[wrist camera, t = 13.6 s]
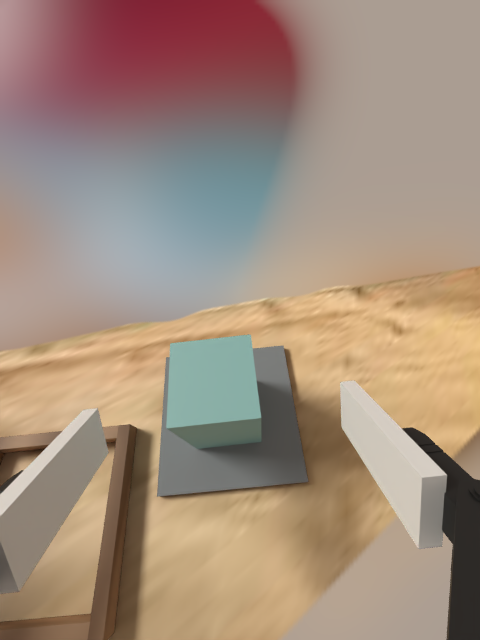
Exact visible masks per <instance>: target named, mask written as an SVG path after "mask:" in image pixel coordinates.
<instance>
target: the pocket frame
mask: <svg viewBox="0 0 480 640" xmlns="http://www.w3.org/2000/svg"><path fill="white" fill-rule="evenodd" d="M61 432H62V431H59V432H49V433H39V434H29V435H19V436H9V437H0V464H1V461H2V458H3V455H4V453H7V452H17V451H27V450H37V449H46V448H47V447H48V446H49V445H50V444H51V442H52V441H53V440H54V439H55V438H56V437H57V436H58V435H59V434H60V433H61ZM103 432H104V436H105V440H106V443H108V442H116V446H115V453H114V460H113V467H112V474H111V481H110V487H109V494H108V501H107V508H106V515H105V522H104V529H103V536H102V543H101V550H100V556H99V563H98V570H97V577H96V584H95V591H94V598H93V605H92V612H91V614H84V615H73V616H62V617H51V618H40V619H29V620H18V621H7V622H0V640H107V639H108V638H109V637H110V636H111V635H112V634H113V633H114V630H115V621H116V612H117V603H118V594H119V585H120V576H121V567H122V558H123V549H124V540H125V531H126V522H127V513H128V504H129V495H130V486H131V477H132V468H133V459H134V450H135V441H136V432H137V428H136V427H134V426H132V425H130V424H129V425H119V426H109V427H103Z"/></svg>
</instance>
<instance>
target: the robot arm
mask: <svg viewBox="0 0 480 640" xmlns="http://www.w3.org/2000/svg"><path fill="white" fill-rule="evenodd" d="M340 392H341V427H342V429H343V431H344V432H345V434H346V435H347V437H348V438H349V440H350V442H351V443H352V445H353V446H354V448H355V449H356V451H357V453H358V454H359V456H360V457H361V459H362V460H363V462H364V464H365V465H366V467H367V468H368V470H369V471H370V473H371V475H372V476H373V478H374V479H375V481H376V483H377V484H378V486H379V487H380V489H381V490H382V492H383V494H384V495H385V497H386V498H387V500H388V501H389V503H390V505H391V506H392V508H393V509H394V511H395V512H396V514H397V516H398V517H399V519H400V520H401V522H402V523H403V525H404V527H405V528H406V530H407V531H408V533H409V535H410V536H411V538H412V539H413V541H414V542H415V544H416V546H417V547H418V549H423V548H433V547H442V540H443V532H444V533H445V535H446V536H447V537H448V538H449V540H450V541H451V542H452V544H453V550H452V564H451V580H450V581H451V582H450V596H449V611H448V627H447V640H480V480H476V479H473V478H472V477H471V476H470V475H469V474H468V473H466V472H465V471H464V470H463V469H462V468H461V467H460V466H459V465H458V464H457V463H456V462H455V461H454V460H452V459H451V458H450V457H449V456H448V455H447V454H446V453H444V452H443V450H442V449H441V448H439V447H438V446H437V445H435V443H434V442H433V441H432V440H431V439H430V438H429V437H428V436H426V435H425V434H424V433H422V432H420V431H418V430H416V429H414V428H403V429H401V427H400V426H399V425H398V424H397V423H396V422H395V421H394V420H393V419H392V418H391V417H390V416H389V415H388V414H387V413H386V412H385V411H384V410H383V409H382V408H381V407H380V406H379V405H378V404H377V403H376V402H375V401H374V400H373V399H372V398H371V397H370V396H369V395H368V394H367V393H366V392H365V391H364V390H363V389H362V388H361V387H360V386H359V385H358V384H357V383H356V382H355V381H345V382H340ZM108 453H109V452H108V448H107V444H106V440H105V436H104V432H103V427H102V423H101V419H100V415H99V411H98V408H96V409H87V410H83V411H82V412H81V413H80V414H79V415H78V416H77V417H76V418H75V419H74V420H73V421H72V422H71V423H70V424H69V425H68V426H67V427H66V428H65V429H64V430H63V431H62V432H61V433H60V434H59V435H58V436H57V437H56V438H55V439H54V440H53V441H52V442H51V444H50V445H49V446H48V447H47V448H46V449H45V450H44V451H43V452H42V453H41V454H40V455H39V456H38V457H37V458H36V459H35V460H34V461H33V462H32V463H31V464H30V465H29V466H28V467H27V468H26V469H25V470H21V471H20V472H19V473H17V474H16V475H14V476H13V477H11V478H10V479H8V480H7V481H6V482H5V483H4V484H3V485H2V486H1V487H0V594H3V593H12V592H19V591H20V590H21V588H22V587H23V585H24V584H25V582H26V580H27V579H28V577H29V576H30V574H31V573H32V571H33V570H34V568H35V566H36V565H37V563H38V562H39V560H40V559H41V557H42V555H43V554H44V552H45V551H46V549H47V548H48V546H49V545H50V543H51V541H52V540H53V538H54V537H55V535H56V534H57V532H58V531H59V529H60V527H61V526H62V524H63V523H64V521H65V520H66V518H67V517H68V515H69V513H70V512H71V510H72V509H73V507H74V506H75V504H76V503H77V501H78V499H79V498H80V496H81V495H82V493H83V492H84V490H85V488H86V487H87V485H88V484H89V482H90V481H91V479H92V478H93V476H94V474H95V473H96V471H97V470H98V468H99V467H100V465H101V464H102V462H103V460H104V459H105V457H106V456H107V454H108Z"/></svg>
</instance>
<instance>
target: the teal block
mask: <svg viewBox="0 0 480 640" xmlns="http://www.w3.org/2000/svg"><path fill="white" fill-rule="evenodd" d="M166 429H168V430H169V431H171V432H172V433H174V434H175V435H177V436H178V437H180V438H181V439H183V440H184V441H186V442H187V443H189V444H190V445H192V446H193V447H195V448H196V449H201V448H210V447H220V446H229V445H238V444H247V443H256V442H261V412H260V404H259V396H258V388H257V380H256V372H255V365H254V357H253V349H252V341H251V335H242V336H233V337H224V338H215V339H206V340H197V341H188V342H180V343H171V344H170V362H169V382H168V403H167V424H166Z"/></svg>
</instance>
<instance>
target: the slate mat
mask: <svg viewBox="0 0 480 640" xmlns="http://www.w3.org/2000/svg"><path fill="white" fill-rule="evenodd" d="M253 357H254V365H255V372H256V380H257V388H258V396H259V404H260V412H261V442H256V443H247V444H238V445H229V446H220V447H210V448H201V449H196V448H195V447H193V446H192V445H190V444H189V443H187V442H186V441H184V440H183V439H181V438H180V437H178V436H177V435H175V434H174V433H172V432H171V431H169V430H168V429H166V424H167V403H168V382H169V362H170V357H167V358H166V369H165V384H164V400H163V415H162V430H161V445H160V461H159V476H158V491H157V496H168V495H179V494H189V493H199V492H210V491H220V490H230V489H241V488H251V487H262V486H272V485H282V484H293V483H303V482H308V477H307V472H306V466H305V461H304V456H303V450H302V445H301V439H300V434H299V428H298V423H297V417H296V412H295V406H294V401H293V396H292V390H291V385H290V379H289V374H288V368H287V363H286V357H285V352H284V347H283V346H274V347H265V348H255V349H253Z"/></svg>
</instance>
